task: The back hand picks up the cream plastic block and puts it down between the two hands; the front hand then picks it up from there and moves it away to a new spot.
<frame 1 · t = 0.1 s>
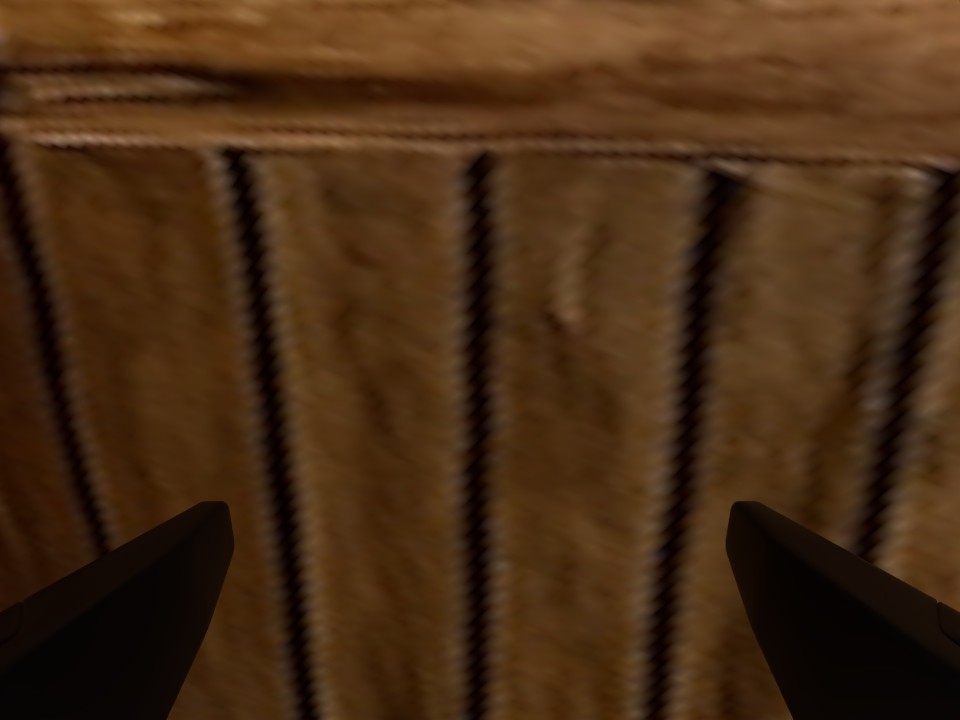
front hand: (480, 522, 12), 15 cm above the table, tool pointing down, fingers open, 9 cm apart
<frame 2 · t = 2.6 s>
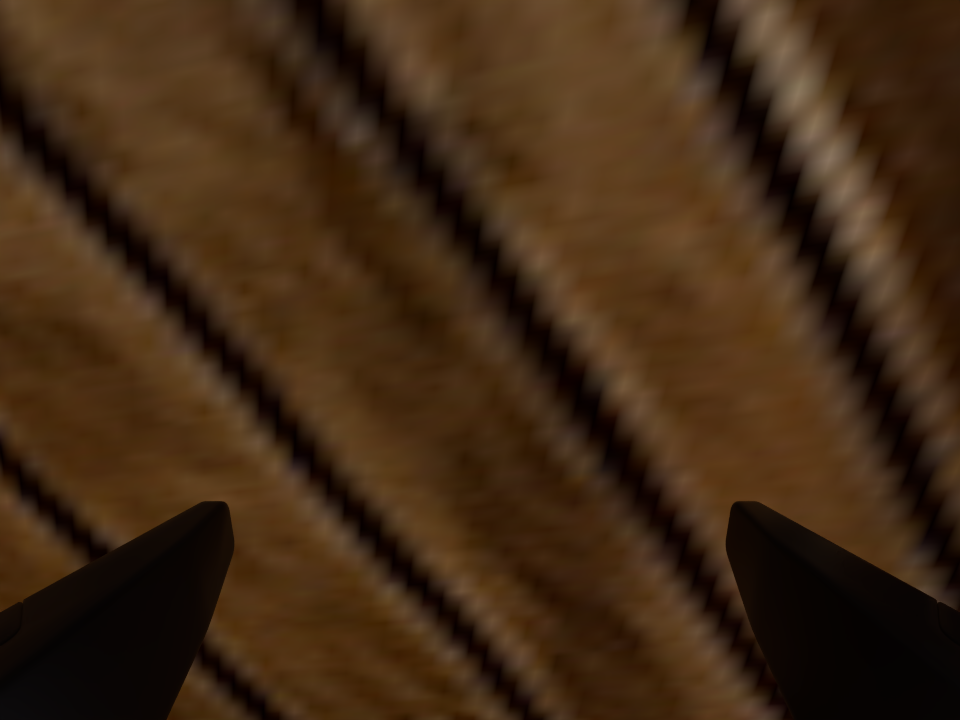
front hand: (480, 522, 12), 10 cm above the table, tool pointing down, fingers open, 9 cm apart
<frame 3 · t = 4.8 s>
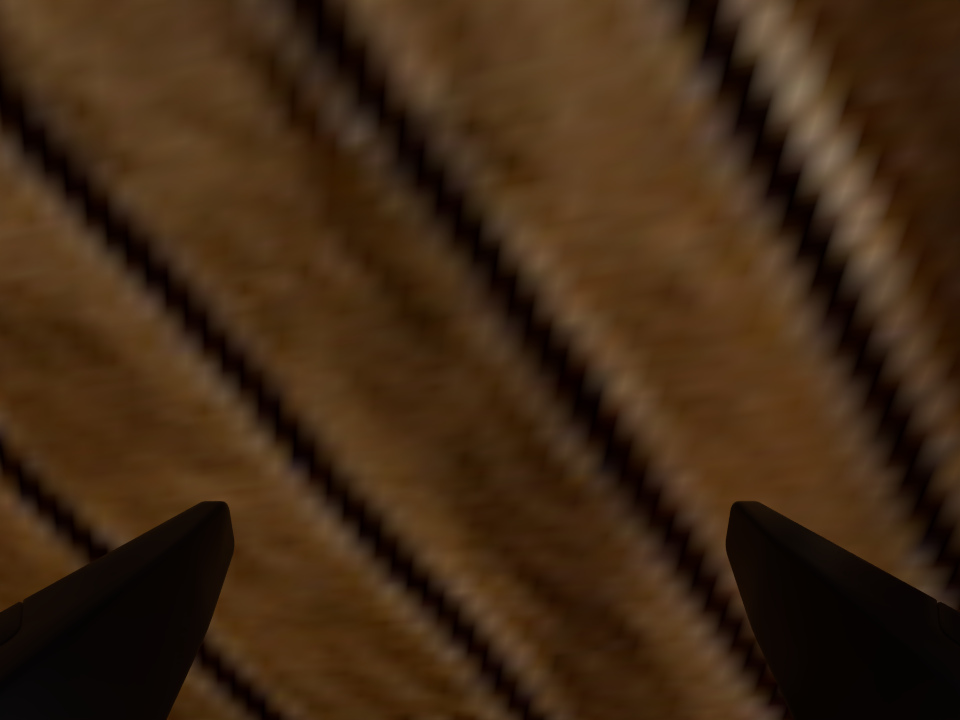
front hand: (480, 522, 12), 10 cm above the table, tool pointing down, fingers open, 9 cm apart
when the back hand's fingers open (2 cm above the table, at t = 7.0 s): block stays where it is, on the table.
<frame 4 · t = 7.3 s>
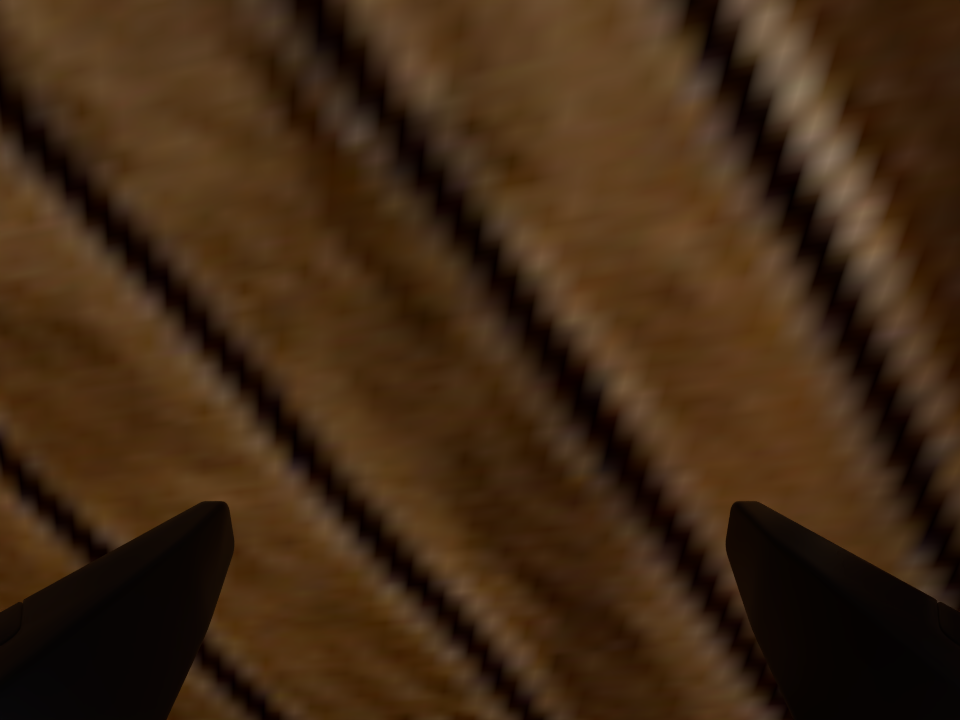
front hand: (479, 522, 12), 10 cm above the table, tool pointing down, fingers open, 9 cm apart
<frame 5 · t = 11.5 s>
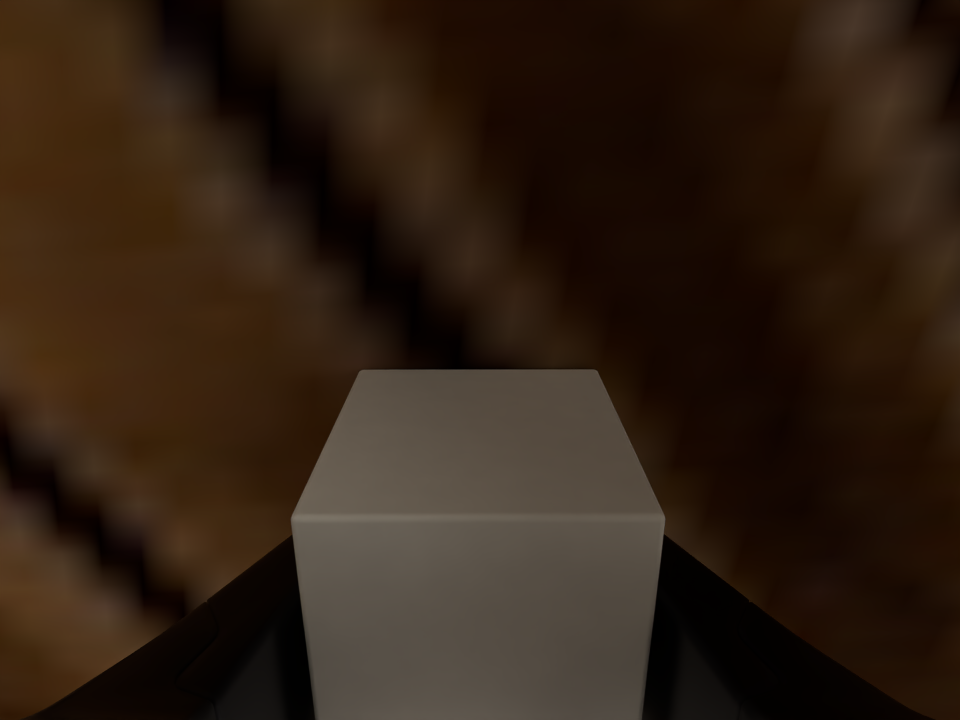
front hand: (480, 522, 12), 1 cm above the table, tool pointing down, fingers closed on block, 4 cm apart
block: (478, 489, 12), on the table, touching front hand
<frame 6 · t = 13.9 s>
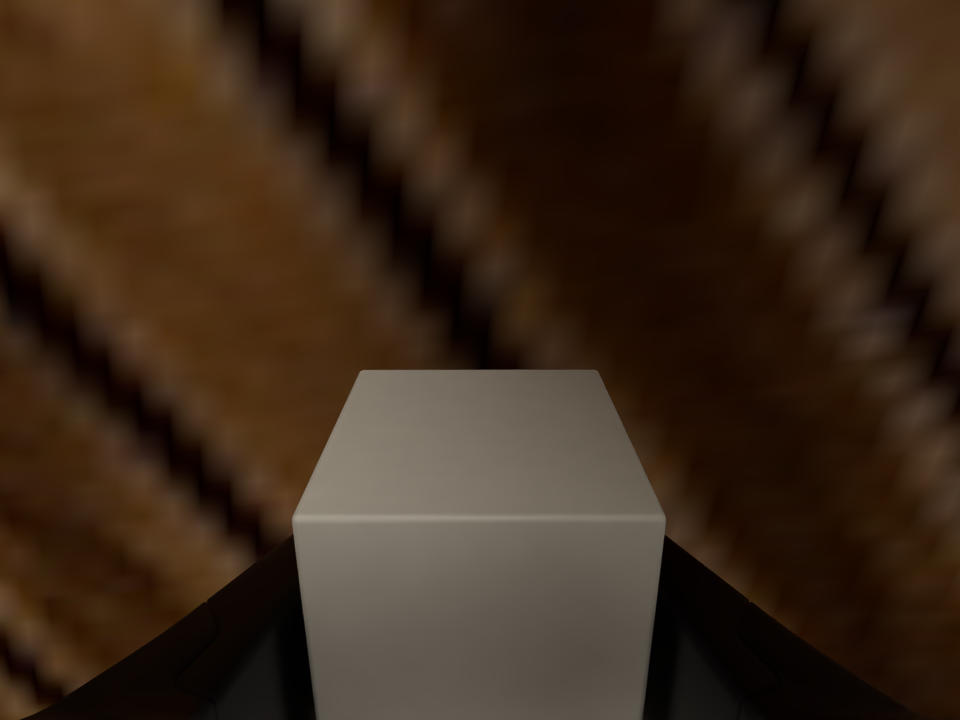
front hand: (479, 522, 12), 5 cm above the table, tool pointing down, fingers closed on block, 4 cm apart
block: (479, 489, 12), point 4 cm above the table, touching front hand
when the front hand's fingers open (2 cm above the table, at t = 16.2 s): block stays where it is, on the table.
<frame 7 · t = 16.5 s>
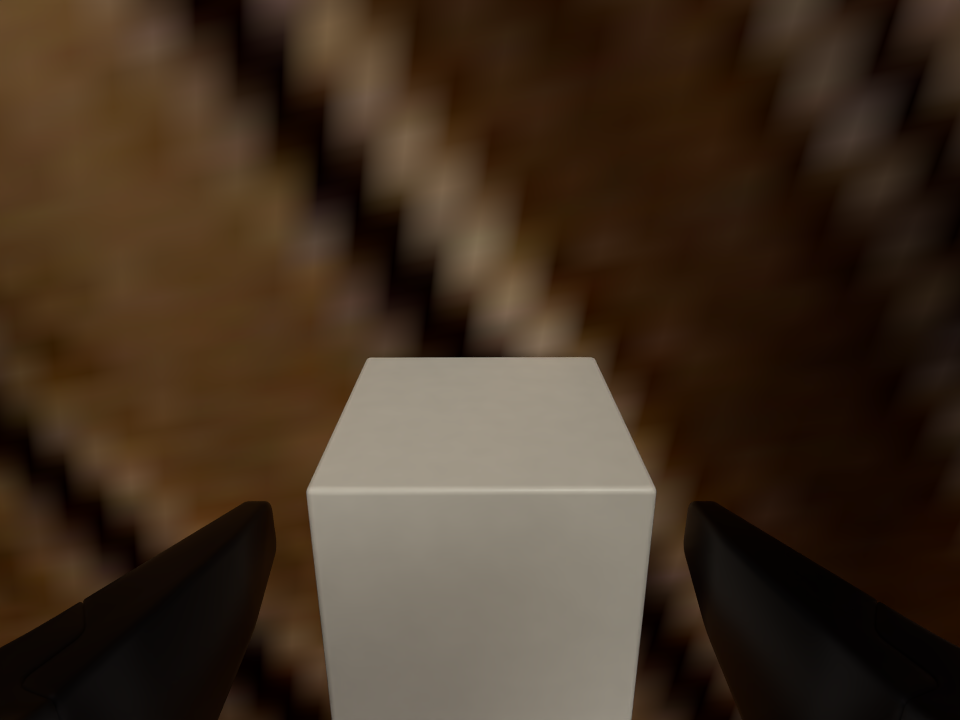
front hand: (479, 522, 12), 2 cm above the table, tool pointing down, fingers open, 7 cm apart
block: (480, 473, 13), on the table
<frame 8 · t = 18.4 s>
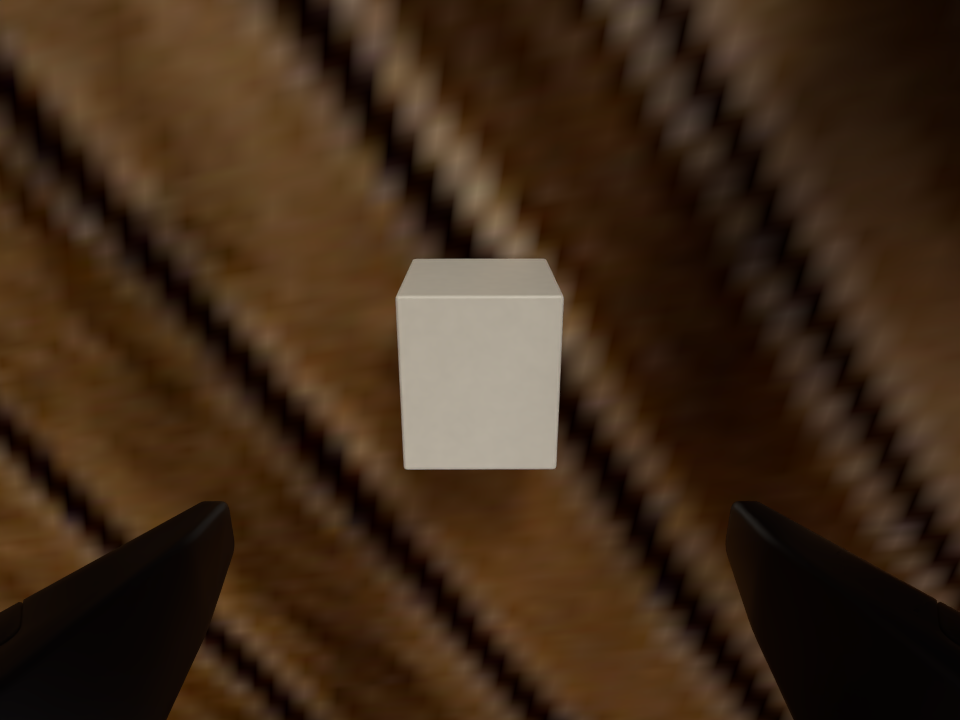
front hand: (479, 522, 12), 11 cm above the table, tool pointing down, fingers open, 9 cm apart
block: (479, 333, 22), on the table
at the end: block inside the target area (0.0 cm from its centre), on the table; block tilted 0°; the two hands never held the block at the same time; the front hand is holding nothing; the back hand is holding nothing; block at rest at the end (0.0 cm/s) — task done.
